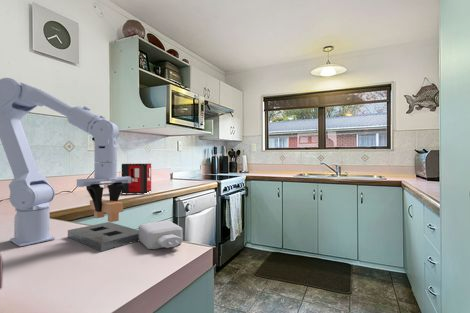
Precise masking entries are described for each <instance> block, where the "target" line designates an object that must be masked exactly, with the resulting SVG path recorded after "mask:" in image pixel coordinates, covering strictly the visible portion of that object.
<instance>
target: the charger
mask: <svg viewBox="0 0 470 313" xmlns="http://www.w3.org/2000/svg"><path fill="white" fill-rule="evenodd" d="M138 230H139V240H140V241H139V242H141V243H142V244H143V245H144V247H146V248H147V249H148V250H150V249H153V250H158V249H162V248H167V249H168V248H169V249H170V248H174V247H177V246H178V245H180V244H182V243H183V241H184V234H183V233H184V229H183V227H181V226H179V225H178V224H176V223H173V221H170V220H160V221H154V222H147V223H142V224H140V225H139V226H138Z"/></svg>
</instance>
